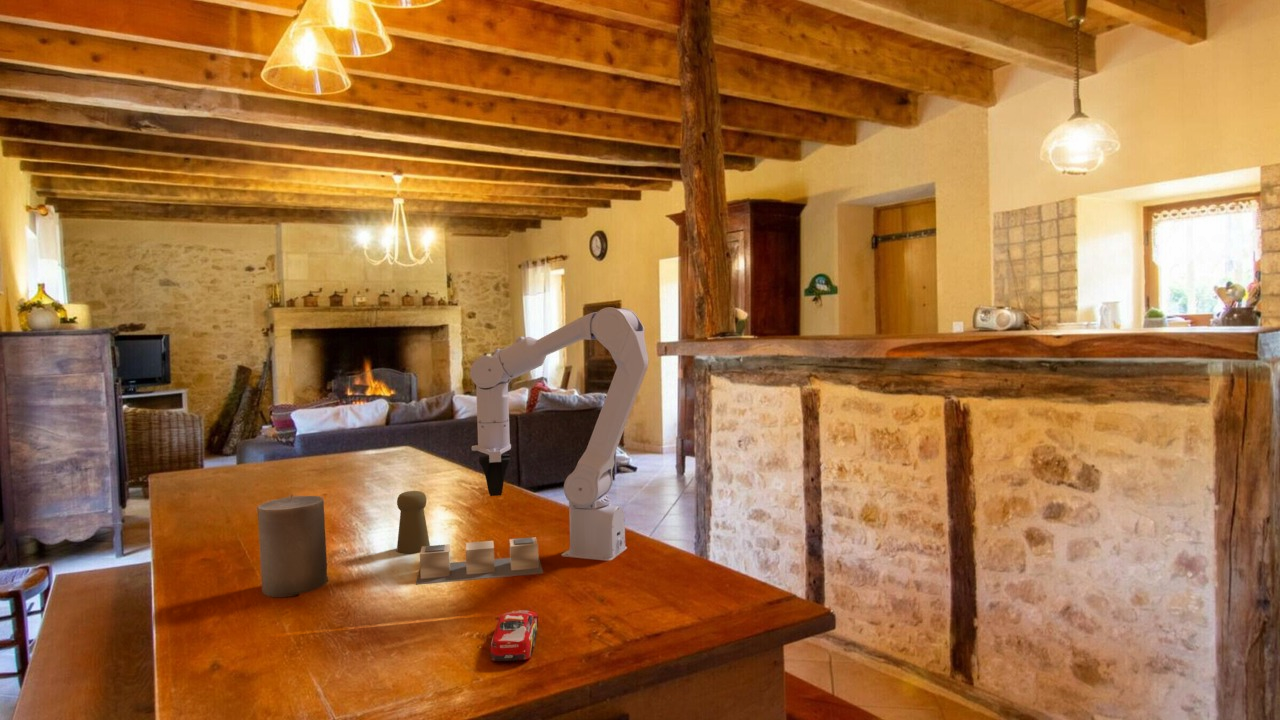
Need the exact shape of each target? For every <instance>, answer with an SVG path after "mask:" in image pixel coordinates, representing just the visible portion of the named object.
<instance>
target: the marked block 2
mask: <svg viewBox="0 0 1280 720" xmlns="http://www.w3.org/2000/svg"><path fill="white" fill-rule="evenodd" d="M538 555H539V544H538V540H537V537H536V536H535V537H521V538H509V558H510V565H511V570H523V569H534V568H539V560H538Z"/></svg>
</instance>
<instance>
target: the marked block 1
mask: <svg viewBox="0 0 1280 720" xmlns="http://www.w3.org/2000/svg"><path fill="white" fill-rule="evenodd" d="M450 563H451V546H450V544H438V545H435V544H434V545H430V546H422V548H421V552H420V553H419V565H420V566H419V570H420V572H421V579H423V578H435V577H446V576H450Z"/></svg>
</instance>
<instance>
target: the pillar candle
mask: <svg viewBox="0 0 1280 720" xmlns="http://www.w3.org/2000/svg"><path fill="white" fill-rule="evenodd" d="M324 506H325V505H324V498H323V497H321V496H318V495H317V496H316V495H298V496H293V493H292V494H290V496H288V497H282V498H278V499H277V498H276V499H272V500H269V501H265V502H263V503H260V504H259V505H257V518H258V520H257V521H258V522H257V523H258V536H259V537H258V539H259V540H258V541H259V556H260V557H259V558H260V559H259V560H260V575H261V577H260V578H261V590H262V594H263V595H264V596H266V597H270V598H271V597H272V598H284V597H285V598H286V597H295V596H298V595H300V594H304V593H308V592H312V591H315V590H317V589H319V588H321V587H323V586H324V585H326V583H328V582H329V577H328V563H327V559H328V558H327V544H326V541H327V540H326V539H327V538H326V528H325V527H326V526H325V525H326V523H325V521H326V520H325V519H326V518H325V517H326V516H325V507H324Z"/></svg>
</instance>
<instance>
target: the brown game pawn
mask: <svg viewBox="0 0 1280 720" xmlns="http://www.w3.org/2000/svg"><path fill="white" fill-rule="evenodd" d="M396 505H397V509H399V511H400V515H399V523H398V526H399V527H398V535H397V542H396V543H397V544H396V545H397V547H396V552H397V553H398V554H403V555H413V554H420V552H421V548H422V546H431V543H430V537H429V532H428V526H427V521H426V514H425V510H424V509H425V508H426V506H427V495H426V494H425V493H424V492H423V491H420V490H410V491H409V490H407V491H404V492H401V493H400V494H399V495H398V497H397V501H396Z"/></svg>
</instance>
